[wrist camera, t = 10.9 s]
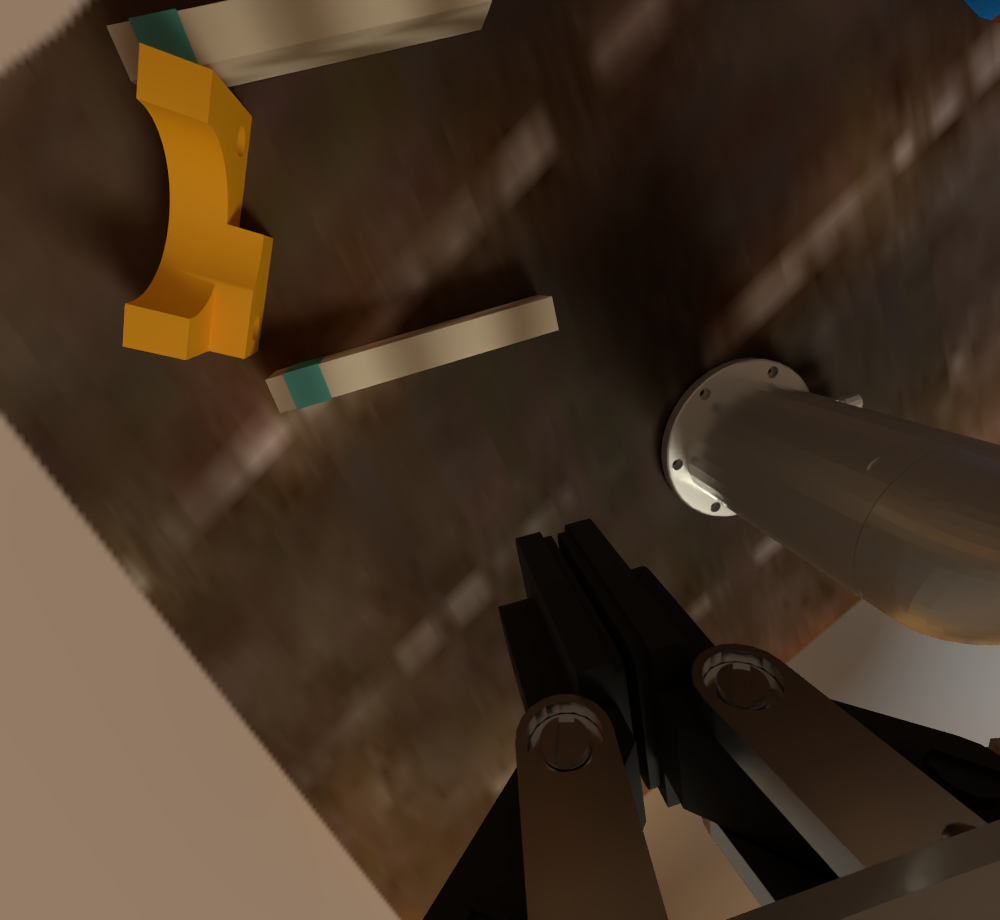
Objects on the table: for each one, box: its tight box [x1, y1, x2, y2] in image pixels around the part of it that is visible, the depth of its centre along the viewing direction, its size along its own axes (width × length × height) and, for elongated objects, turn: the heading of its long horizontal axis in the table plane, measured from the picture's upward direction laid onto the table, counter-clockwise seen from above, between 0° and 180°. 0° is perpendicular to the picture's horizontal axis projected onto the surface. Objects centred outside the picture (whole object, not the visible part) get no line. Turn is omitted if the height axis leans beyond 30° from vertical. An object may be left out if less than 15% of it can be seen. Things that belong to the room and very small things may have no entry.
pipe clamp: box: [123, 43, 273, 360], centre depth 25 cm, size 12×4×6 cm, turn 164°
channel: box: [107, 0, 559, 413], centre depth 27 cm, size 17×18×3 cm
